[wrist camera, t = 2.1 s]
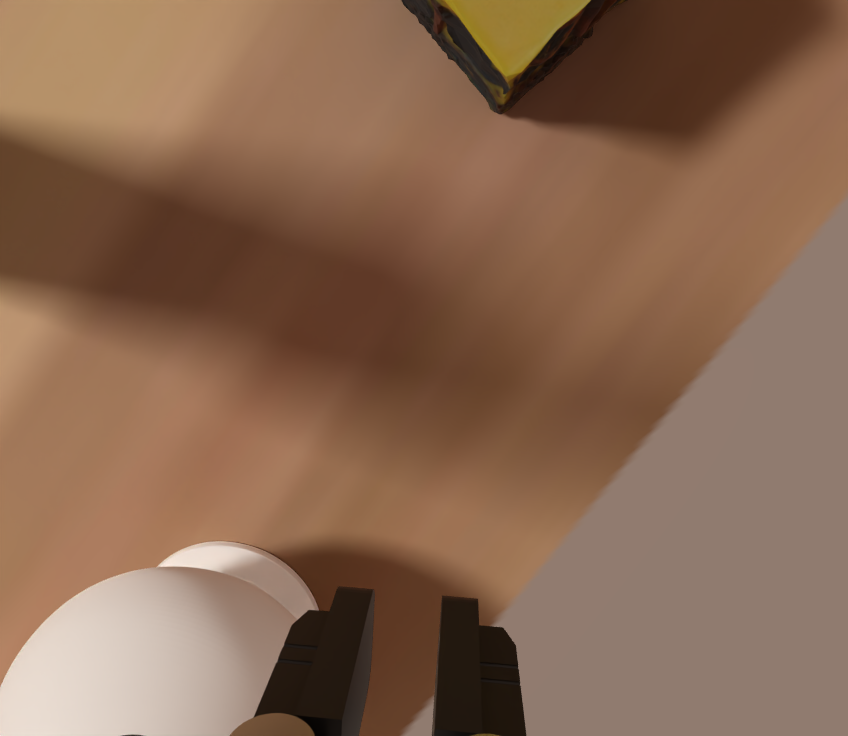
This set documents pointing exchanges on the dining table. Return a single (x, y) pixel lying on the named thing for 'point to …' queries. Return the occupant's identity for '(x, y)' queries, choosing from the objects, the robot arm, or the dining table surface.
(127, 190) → the dining table surface
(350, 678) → the robot arm
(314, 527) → the dining table surface
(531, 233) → the dining table surface
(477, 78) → the candle
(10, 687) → the decorative vase
